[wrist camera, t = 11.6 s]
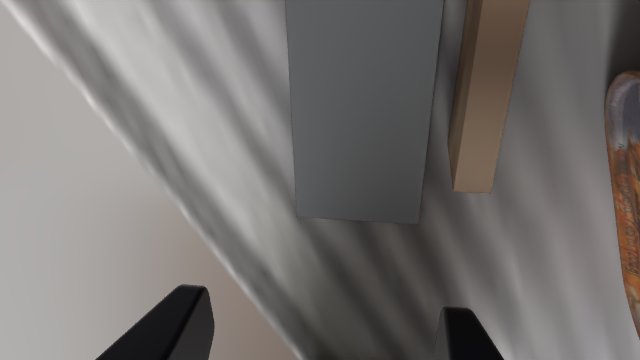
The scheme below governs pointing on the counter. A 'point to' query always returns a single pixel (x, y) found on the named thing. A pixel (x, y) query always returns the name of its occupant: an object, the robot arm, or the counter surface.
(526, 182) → the counter surface
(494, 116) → the tan wooden plank
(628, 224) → the tin
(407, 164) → the grey plank
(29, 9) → the counter surface
